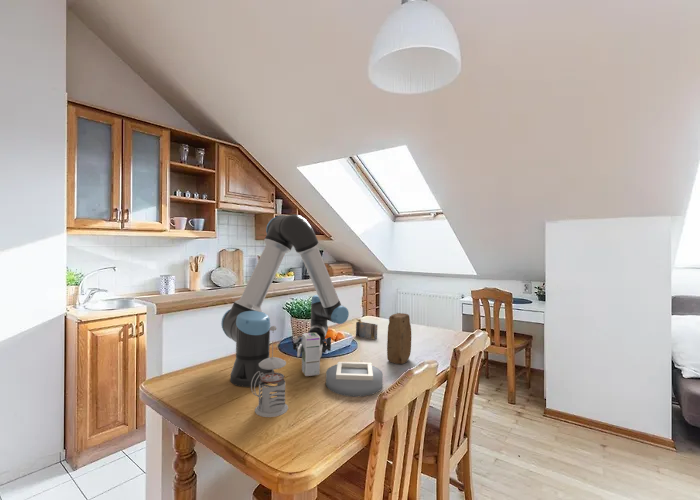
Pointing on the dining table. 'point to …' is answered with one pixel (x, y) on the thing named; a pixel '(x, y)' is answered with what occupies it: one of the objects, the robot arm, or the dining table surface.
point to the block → (399, 338)
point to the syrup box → (310, 354)
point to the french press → (271, 388)
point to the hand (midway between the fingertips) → (309, 353)
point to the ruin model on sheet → (366, 329)
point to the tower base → (354, 379)
